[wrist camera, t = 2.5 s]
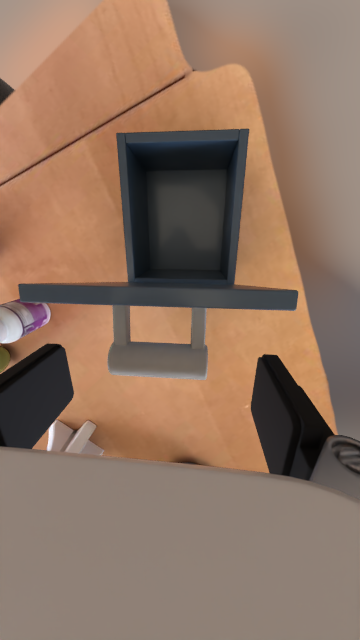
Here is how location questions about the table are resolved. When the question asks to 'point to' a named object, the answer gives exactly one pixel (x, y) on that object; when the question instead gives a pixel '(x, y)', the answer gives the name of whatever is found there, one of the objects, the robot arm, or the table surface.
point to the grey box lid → (122, 295)
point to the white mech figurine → (72, 439)
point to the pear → (4, 358)
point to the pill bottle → (21, 319)
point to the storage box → (182, 204)
